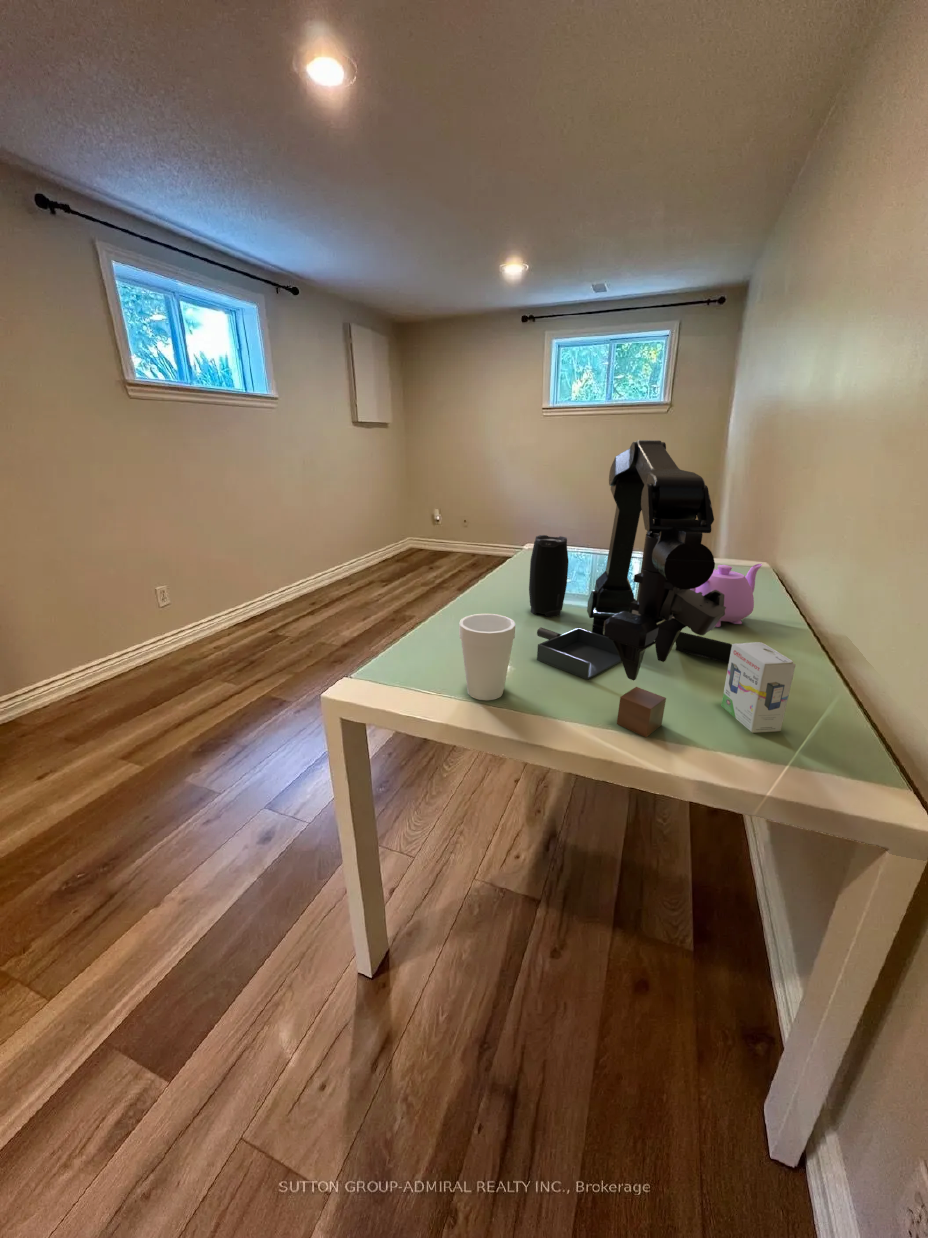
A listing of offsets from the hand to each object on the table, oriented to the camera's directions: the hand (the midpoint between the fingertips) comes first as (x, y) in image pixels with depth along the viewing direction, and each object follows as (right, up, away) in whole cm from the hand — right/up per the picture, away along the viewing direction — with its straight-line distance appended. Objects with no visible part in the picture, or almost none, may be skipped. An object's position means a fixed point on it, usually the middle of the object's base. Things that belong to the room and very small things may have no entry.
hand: (647, 669), depth 74 cm
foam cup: (-24, -5, +13) cm, 28 cm away
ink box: (+18, -9, +6) cm, 21 cm away
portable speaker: (-6, +9, +53) cm, 54 cm away
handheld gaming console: (+23, 0, +29) cm, 36 cm away
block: (0, -9, +3) cm, 10 cm away
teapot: (+37, +8, +50) cm, 63 cm away
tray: (-5, 0, +27) cm, 28 cm away
